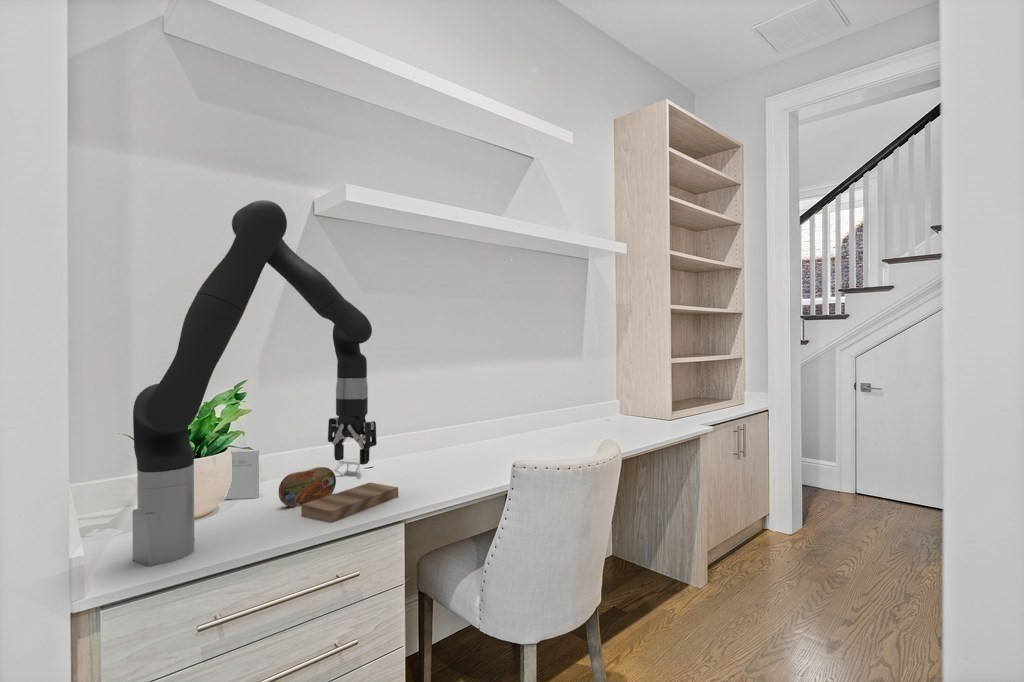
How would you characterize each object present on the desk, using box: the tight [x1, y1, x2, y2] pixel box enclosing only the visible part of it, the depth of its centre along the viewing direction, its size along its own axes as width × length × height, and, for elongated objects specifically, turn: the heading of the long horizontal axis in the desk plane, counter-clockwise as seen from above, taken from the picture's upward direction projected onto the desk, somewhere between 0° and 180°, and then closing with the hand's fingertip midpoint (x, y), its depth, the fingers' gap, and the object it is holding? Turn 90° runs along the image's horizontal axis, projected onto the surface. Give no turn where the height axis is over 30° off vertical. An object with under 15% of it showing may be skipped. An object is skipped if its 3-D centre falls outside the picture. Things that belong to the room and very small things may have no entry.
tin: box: [278, 466, 337, 508], centre depth 135 cm, size 15×3×8 cm, turn 143°
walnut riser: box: [300, 482, 399, 524], centre depth 131 cm, size 22×10×3 cm, turn 150°
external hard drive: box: [225, 449, 260, 500], centre depth 139 cm, size 2×8×12 cm, turn 96°
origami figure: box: [332, 456, 361, 479], centre depth 161 cm, size 12×8×5 cm
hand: (351, 462), depth 130 cm, fingers open, 8 cm apart
